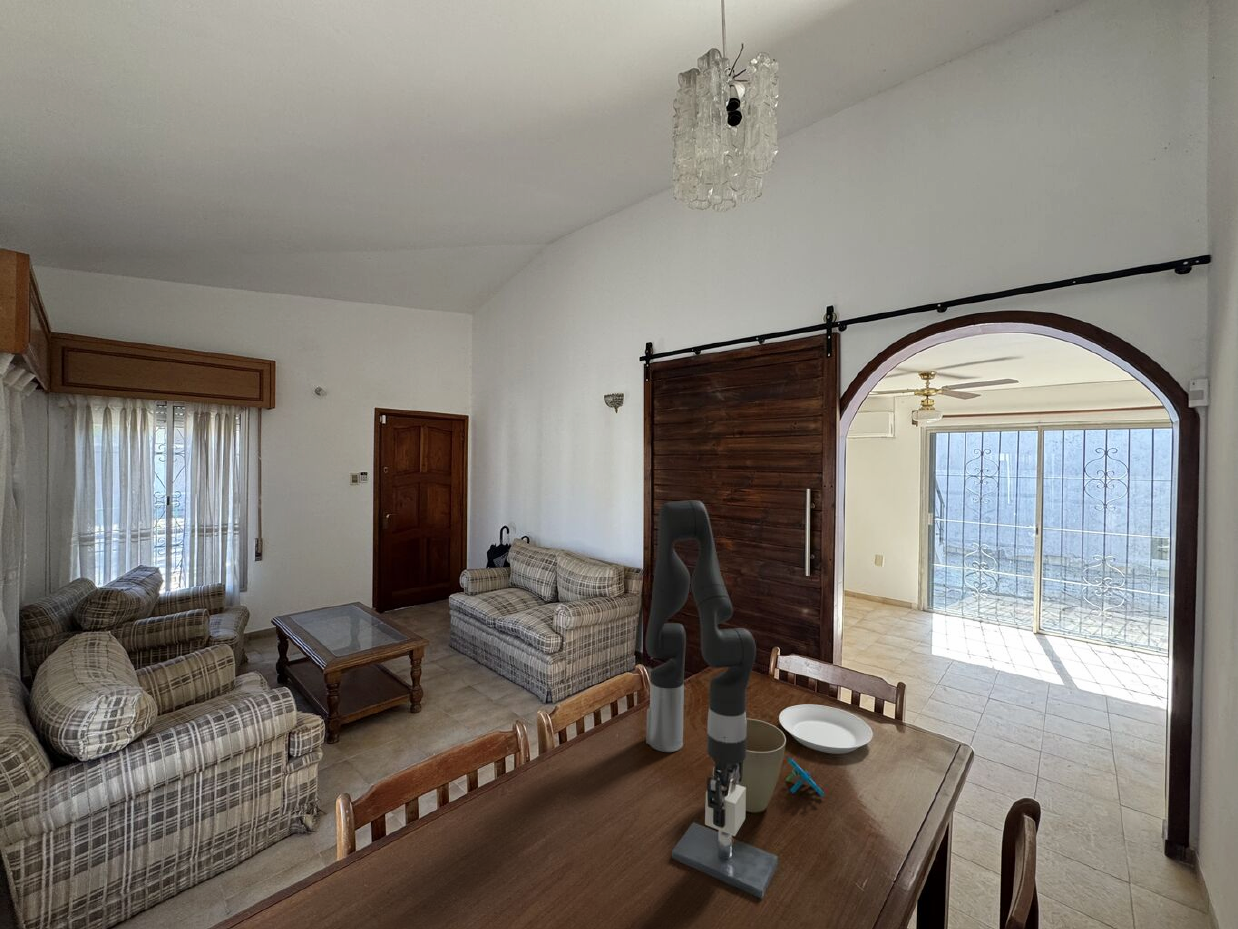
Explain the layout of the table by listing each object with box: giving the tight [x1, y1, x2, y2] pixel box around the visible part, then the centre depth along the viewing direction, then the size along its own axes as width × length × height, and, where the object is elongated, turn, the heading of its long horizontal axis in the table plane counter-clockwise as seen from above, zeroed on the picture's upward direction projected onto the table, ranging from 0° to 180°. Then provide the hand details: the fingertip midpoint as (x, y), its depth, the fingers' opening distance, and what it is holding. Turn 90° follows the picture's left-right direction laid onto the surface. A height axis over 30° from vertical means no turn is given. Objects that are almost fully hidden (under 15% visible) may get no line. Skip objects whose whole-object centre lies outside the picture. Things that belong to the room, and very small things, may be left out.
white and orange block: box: [704, 781, 746, 837], centre depth 106 cm, size 6×6×7 cm
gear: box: [785, 757, 825, 797], centre depth 129 cm, size 11×6×10 cm
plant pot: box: [739, 718, 787, 813], centre depth 124 cm, size 15×15×16 cm
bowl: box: [778, 703, 874, 754], centre depth 155 cm, size 25×25×4 cm
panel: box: [671, 821, 779, 900], centre depth 106 cm, size 18×10×6 cm, turn 58°
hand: (725, 815), depth 106 cm, fingers closed on white and orange block, 6 cm apart
